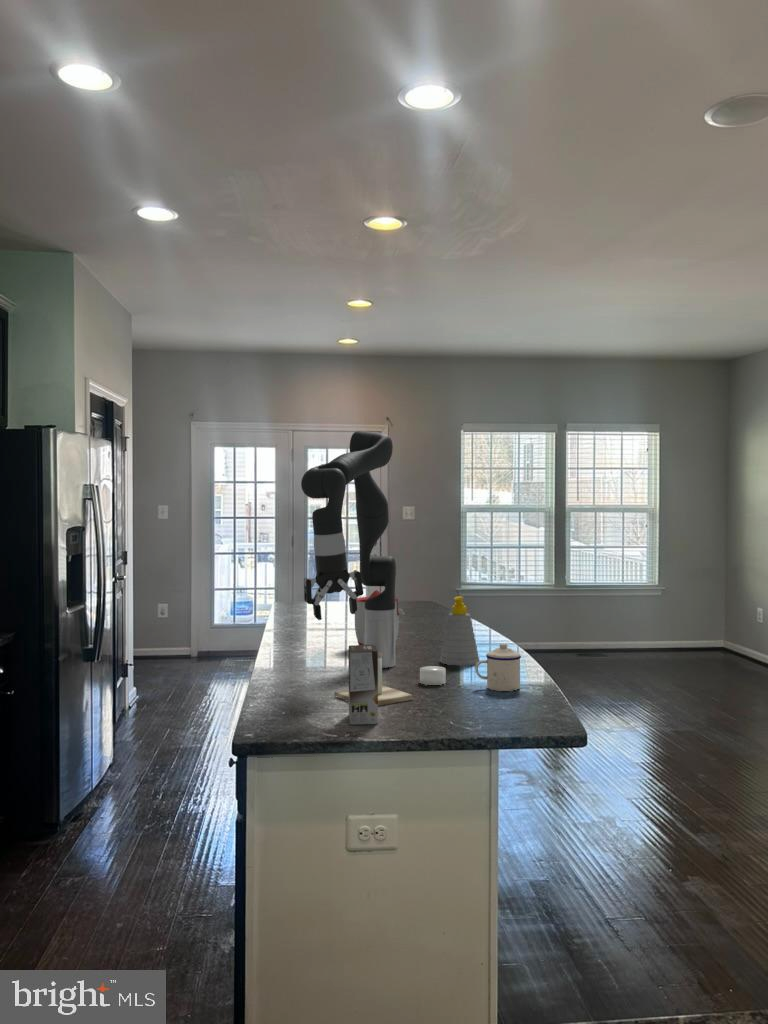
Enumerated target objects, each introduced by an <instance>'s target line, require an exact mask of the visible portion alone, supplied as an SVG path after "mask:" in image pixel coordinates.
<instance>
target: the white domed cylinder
mask: <svg viewBox="0 0 768 1024" xmlns="http://www.w3.org/2000/svg"><path fill="white" fill-rule="evenodd" d="M446 673H447V671H446V667H443V666H437V665H436V666H435V665H428V666H427V665H425V666H422V667H420V668H419V684H420V683H421V684H420V685H422V684H425V685H424V686H427V685H440V686H443V685H442V684H444V685H446V684H445V683H446V682H447V678H446V677H447V676H446Z"/></svg>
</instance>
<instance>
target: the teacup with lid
mask: <svg viewBox="0 0 768 1024" xmlns="http://www.w3.org/2000/svg"><path fill="white" fill-rule="evenodd" d="M485 656H486V659H485V660H483V659H482V660H480V661H479V662H477V664H476V665H474V666H475V667H474V670H475V671H474V672H475V673H476V676H477V677H478V678H480V679H481V680H486V687H487V689H489V690H492V691H494V690H495V691H496V692H502V691H509V692H514V691H513V690H516V691H518V690H517V689H519V690H520V689H521V658H522V656H521V654H520V652H519V651H515V650H513V649H512V648H510V647H508V644H507V643H500V644H499V646H498V647H496V648H495V649H493V650H490V651H488V652H487V653H486V655H485ZM482 664H486V676H485V675H481V673H480V672H479V666H480V665H482Z"/></svg>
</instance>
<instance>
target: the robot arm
mask: <svg viewBox="0 0 768 1024" xmlns="http://www.w3.org/2000/svg"><path fill="white" fill-rule="evenodd" d="M393 446H394V445H393V441H392V438H391V437H390V436H389V435H388V434H386V433H385V434H384V433H380V432H375V431H374V432H372V431H365V430H356V431H354V432H353V433H352V435H351V437H350V440H349V448H348V449H349V452H346V453H343V454H340V455H339V456H337V457H335V458H333V459H332V460H331V461H329V462H327V463H323V464H320V465H316V466H314V467H311V468H309V469H308V470H307V471H306V472H305V473H303V476H302V478H301V481H300V483H301V484H300V486H301V490H302V493H303V494H304V495H305V496H306V497H308V498H309V499H328V500H327V504H326V505H325V506H324V507H320V508H317V509H314V510H313V511H312V514H311V515H312V516H311V519H312V520H311V521H312V529H313V551H314V560H315V561H314V562H315V563H314V564H315V572H316V574H315V575H316V576H315V577H312V578H311V577H310V578H308V577H304V578H303V593H304V595H303V599H304V602H305V603H306V604H308V605H312V608H313V609H312V610H313V615H314V618H315V619H317V620H318V621H321V620H322V607H321V604H320V603H321V601H322V600H323V598H324V597H325V596H326V595H327V594H329V595H330V594H334V593H342V591H343V592H345V593H346V594H347V595H348V597H349V598H348V605H349V612H350V614H351V615H355V611H357V601H356V599H357V598H359V597H360V596H363V595H364V587H363V586H366V587H384V590H383V591H382V592H380V594H379V595H377V596H374V597H371V598H368V599H366V601H365V633H364V645H375V646H376V649H377V651H378V652H381V653H383V657H382V669H386V668H388V667H389V668H393V667H395V666H396V643H395V598H396V578H397V577H396V576H397V575H396V574H397V565H396V564H397V563H396V560H395V558H394V557H393V556H391V555H371V553H372V551H373V549H374V547H375V545H376V543H377V541H378V540H379V539H381V537H382V536H383V534H384V532H385V531H386V530H387V528H388V524H389V521H390V519H389V517H390V516H389V504H388V499H387V497H386V496H385V494H384V492H383V491H382V490H381V488H380V486H379V485H378V484H377V483H376V481H375V480H374V478H373V476H372V475H371V471H374V470H377V469H379V468H380V469H381V468H383V467H385V466H386V465H388V463H389V462H390V461H391V458H392V454H393V449H394V447H393ZM352 481H353V482H354V483H353V485H354V492H355V511H356V512H355V513H356V522H357V532H358V540H359V541H358V542H359V544H358V545H359V570H357V569H354V570H353V571H350V572H349V571H348V561H347V551H346V550H347V545H346V540H345V536H344V530H343V528H344V527H343V521H342V520H343V519H342V517H343V516H342V512H343V506H344V499H345V495H346V489H347V485H349V484H350V483H351V482H352ZM350 578H351V580H353V581H354V587H355V588H354V589H355V590H354V591H353V590H352V589H351V588H350V587H349V585H348V584H347V583H348V582H349V581H350ZM315 583H316V585H317V586H318V588H317V590H316V592H315V594H314V596H312V588H314V585H315ZM389 668H388V669H389Z"/></svg>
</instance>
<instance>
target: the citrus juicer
mask: <svg viewBox="0 0 768 1024" xmlns="http://www.w3.org/2000/svg"><path fill="white" fill-rule="evenodd" d="M380 593H381V592H380V591H379V590H378V589H376V590H374V591H373V592H372V593H371V594H370V595H369V596H363V597H362V596H361V597H357V599H356V601H357V611H355V614H354V630H355V635H356V636H355V637H356V640H357V643H358V644H357V645H364V633H365V601H366V599H368V598H371V597H374V596H377V595H379V594H380ZM399 615H405V613H404V610H403V609H402V608H400V607H399V600H398V597H395V644H396V642H397V639H398V633H399V626H400V621H399V620H400V619H399V617H400V616H399Z"/></svg>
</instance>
